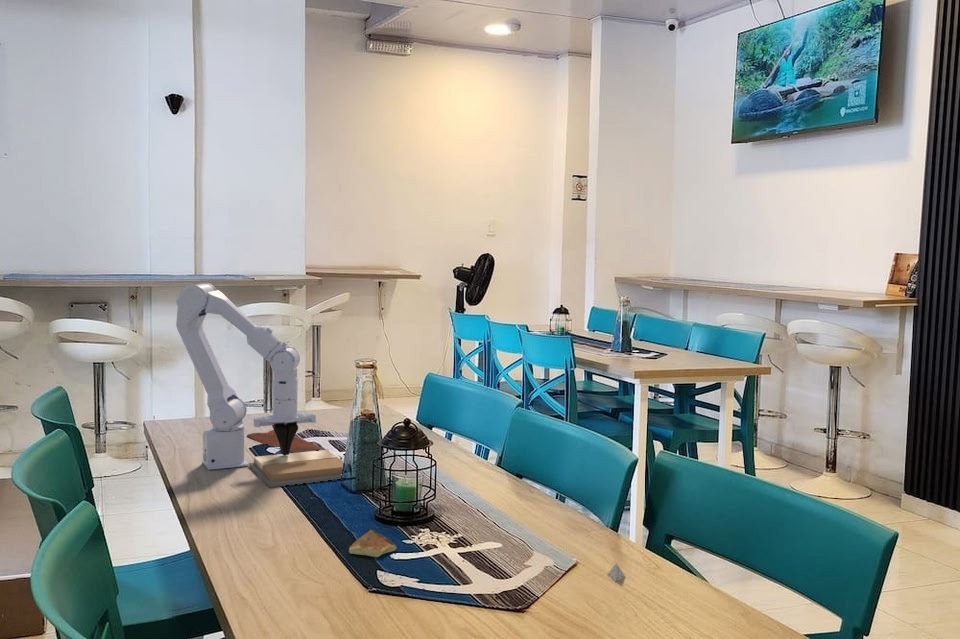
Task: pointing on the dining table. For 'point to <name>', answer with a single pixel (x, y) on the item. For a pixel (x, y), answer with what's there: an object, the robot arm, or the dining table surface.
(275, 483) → the floor base
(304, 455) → the ash plank
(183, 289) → the robot arm
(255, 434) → the wooden tablet
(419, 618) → the dining table surface
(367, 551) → the shard
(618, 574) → the tetrahedral die
